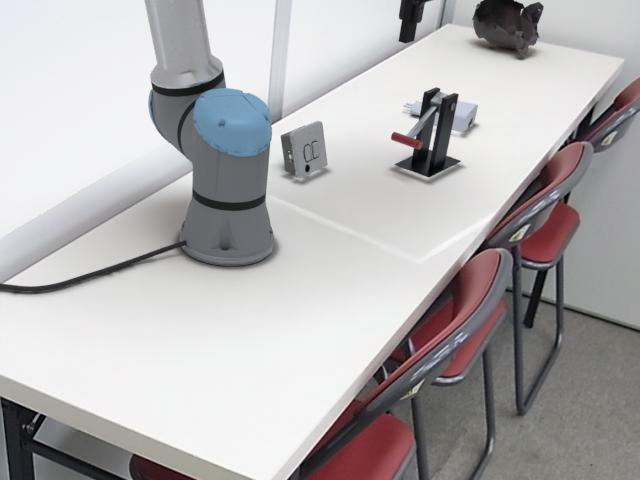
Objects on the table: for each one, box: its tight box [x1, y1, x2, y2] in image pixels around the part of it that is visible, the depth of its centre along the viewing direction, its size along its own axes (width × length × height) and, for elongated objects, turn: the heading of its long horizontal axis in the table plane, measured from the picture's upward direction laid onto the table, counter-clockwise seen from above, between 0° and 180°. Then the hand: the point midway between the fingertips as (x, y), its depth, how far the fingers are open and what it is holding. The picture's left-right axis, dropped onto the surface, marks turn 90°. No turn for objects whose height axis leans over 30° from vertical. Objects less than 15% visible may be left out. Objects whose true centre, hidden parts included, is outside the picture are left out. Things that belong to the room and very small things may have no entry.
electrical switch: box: [280, 120, 328, 179], centre depth 171 cm, size 9×5×9 cm, turn 141°
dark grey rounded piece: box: [471, 0, 545, 57], centre depth 245 cm, size 14×15×20 cm
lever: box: [390, 91, 449, 150], centre depth 170 cm, size 13×6×2 cm, turn 139°
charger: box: [403, 100, 479, 133], centre depth 198 cm, size 5×9×15 cm
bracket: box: [394, 86, 462, 178], centre depth 175 cm, size 12×8×15 cm, turn 139°
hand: (406, 41), depth 158 cm, fingers closed
